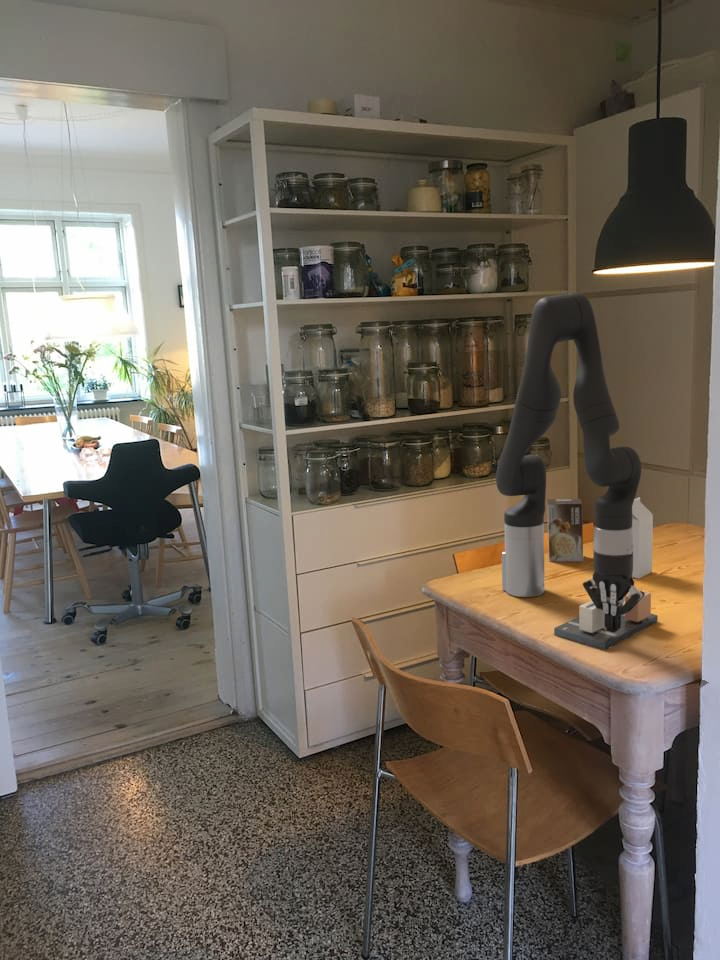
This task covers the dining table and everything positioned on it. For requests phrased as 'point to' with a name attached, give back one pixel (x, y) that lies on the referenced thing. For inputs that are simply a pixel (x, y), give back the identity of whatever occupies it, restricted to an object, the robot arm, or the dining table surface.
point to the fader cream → (591, 617)
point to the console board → (603, 632)
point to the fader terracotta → (640, 608)
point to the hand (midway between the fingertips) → (612, 630)
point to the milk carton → (641, 539)
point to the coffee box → (565, 530)
